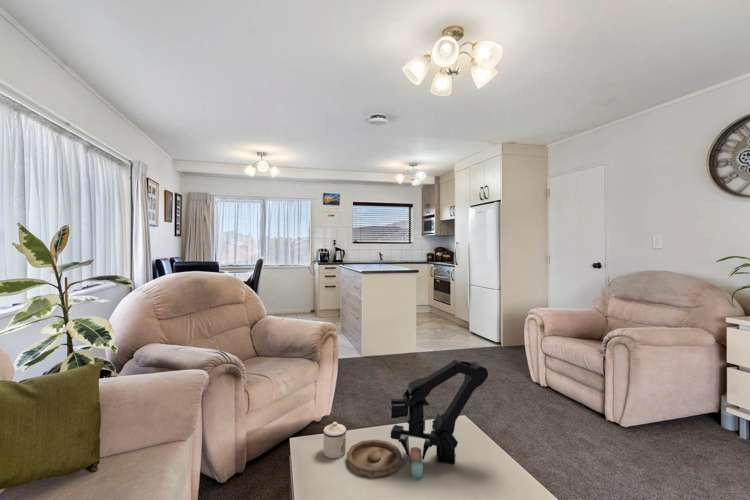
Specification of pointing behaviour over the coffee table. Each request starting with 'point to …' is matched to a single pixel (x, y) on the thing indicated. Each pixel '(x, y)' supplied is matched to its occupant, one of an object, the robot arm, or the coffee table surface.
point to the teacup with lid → (334, 440)
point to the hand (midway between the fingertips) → (415, 457)
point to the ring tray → (374, 458)
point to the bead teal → (417, 470)
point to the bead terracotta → (415, 454)
